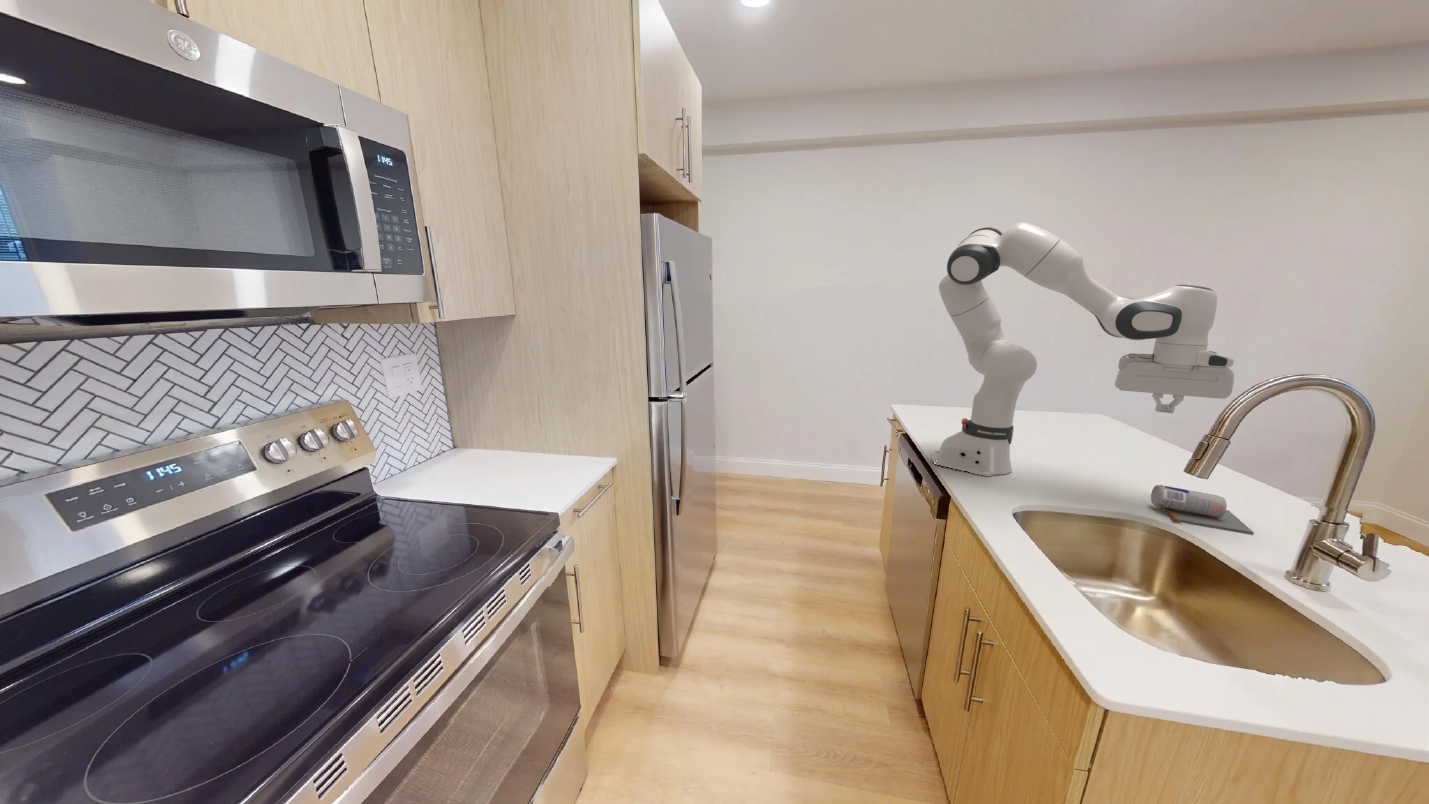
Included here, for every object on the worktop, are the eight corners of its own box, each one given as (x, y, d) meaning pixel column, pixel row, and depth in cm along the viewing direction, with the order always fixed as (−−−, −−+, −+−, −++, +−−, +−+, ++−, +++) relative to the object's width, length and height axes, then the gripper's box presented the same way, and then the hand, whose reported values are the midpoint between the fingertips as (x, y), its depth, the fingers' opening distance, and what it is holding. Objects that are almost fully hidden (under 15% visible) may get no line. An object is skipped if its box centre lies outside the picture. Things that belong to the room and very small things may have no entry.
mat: (1181, 522, 110) (1182, 520, 110) (1163, 502, 120) (1164, 500, 120) (1253, 534, 104) (1253, 532, 104) (1228, 512, 114) (1228, 510, 114)
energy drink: (1148, 493, 119) (1211, 504, 114) (1152, 509, 116) (1217, 522, 111) (1157, 480, 116) (1223, 491, 110) (1162, 496, 112) (1229, 509, 107)
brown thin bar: (1174, 522, 110) (1175, 518, 110) (1154, 499, 122) (1155, 496, 121) (1180, 523, 109) (1181, 520, 109) (1160, 500, 121) (1161, 497, 121)
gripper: (1124, 354, 111) (1112, 409, 114) (1244, 360, 102) (1227, 420, 105) (1117, 351, 117) (1106, 404, 120) (1230, 357, 107) (1215, 414, 110)
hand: (1164, 412), depth 112 cm, fingers closed
